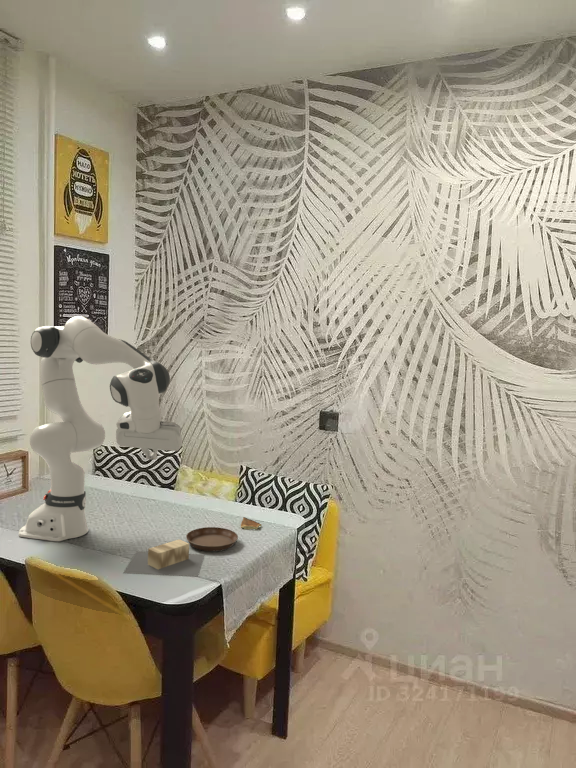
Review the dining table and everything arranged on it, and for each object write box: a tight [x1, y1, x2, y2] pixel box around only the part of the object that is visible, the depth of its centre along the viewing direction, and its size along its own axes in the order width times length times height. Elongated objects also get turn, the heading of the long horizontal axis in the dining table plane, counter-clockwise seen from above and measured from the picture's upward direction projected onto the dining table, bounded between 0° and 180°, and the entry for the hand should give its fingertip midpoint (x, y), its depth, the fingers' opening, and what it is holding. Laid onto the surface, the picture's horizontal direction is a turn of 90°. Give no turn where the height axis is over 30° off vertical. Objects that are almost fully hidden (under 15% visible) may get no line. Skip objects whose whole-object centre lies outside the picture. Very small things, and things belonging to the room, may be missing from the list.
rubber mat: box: [122, 550, 206, 578], centre depth 185 cm, size 22×17×1 cm
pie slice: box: [240, 516, 262, 530], centre depth 228 cm, size 11×8×2 cm
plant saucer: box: [185, 526, 239, 552], centre depth 207 cm, size 18×18×3 cm
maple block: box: [147, 539, 190, 569], centre depth 187 cm, size 5×5×12 cm
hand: (151, 458), depth 188 cm, fingers closed
